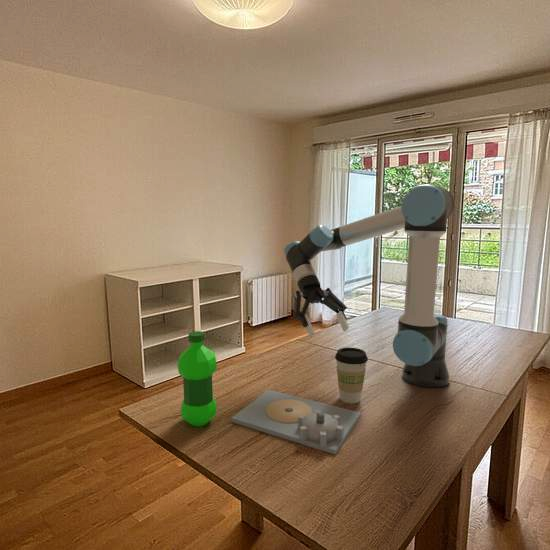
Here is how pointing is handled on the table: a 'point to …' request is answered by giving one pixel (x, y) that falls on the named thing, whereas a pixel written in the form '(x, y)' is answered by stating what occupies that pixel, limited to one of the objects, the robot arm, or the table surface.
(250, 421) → the gear board
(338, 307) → the robot arm
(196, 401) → the plastic bottle
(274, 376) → the table surface
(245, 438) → the table surface
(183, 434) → the table surface
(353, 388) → the coffee cup
